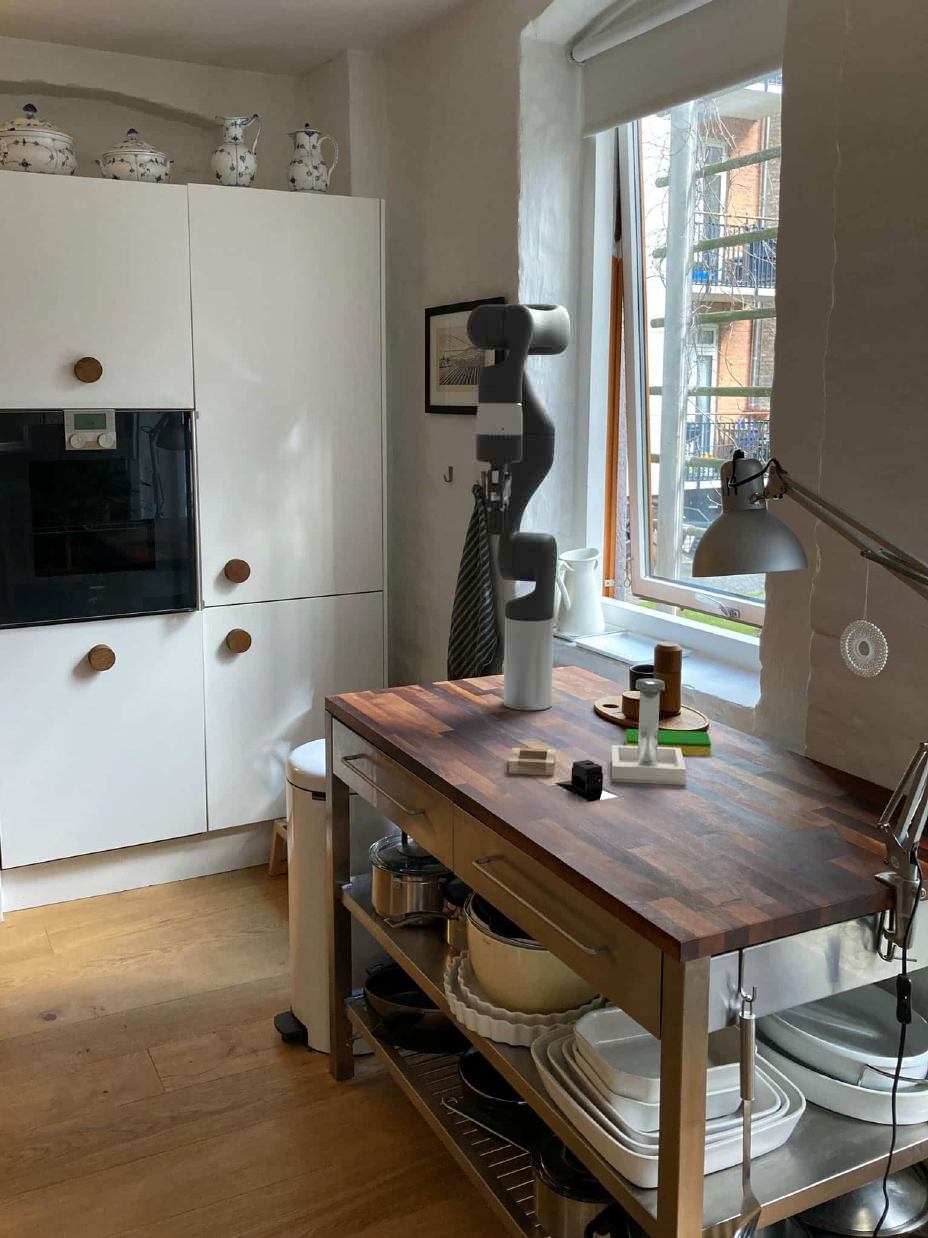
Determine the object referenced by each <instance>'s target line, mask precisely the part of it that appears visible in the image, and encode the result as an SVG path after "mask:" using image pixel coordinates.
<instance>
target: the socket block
mask: <svg viewBox="0 0 928 1238" xmlns="http://www.w3.org/2000/svg"><path fill="white" fill-rule="evenodd" d="M556 751H557V749H553V748H552V749H551V748H550V749H549V748H526V747H525V748H524V747H521V748H520V747H512V748H511V753H510V757H509V761H508V762H509V763H508V765H509V766H508V770H509V771H508V773H509V774H518V775H519V774H520V775H541V776H542V775H543V776H544V775H546V776H554V775H555V770H556V769H555V768H556V756H557V753H556Z"/></svg>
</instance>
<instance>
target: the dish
mask: <svg viewBox="0 0 928 1238" xmlns="http://www.w3.org/2000/svg"><path fill="white" fill-rule="evenodd" d="M683 755H684V754H682V752H681V748H670V747H657V766H644V765H637V760H638V746H626V745H621V744H620V745H617V744H616V745H615V744H614V745H613V744H612V745H611V757H610V759H611V760H610V761H611V780H612V781H611V782H612V783H628V784H633V783H634V784H654V785H673V786H674V785H676V786H679V785H680V786H686V777H687V768H686V763H685V759H684V756H683Z"/></svg>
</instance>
